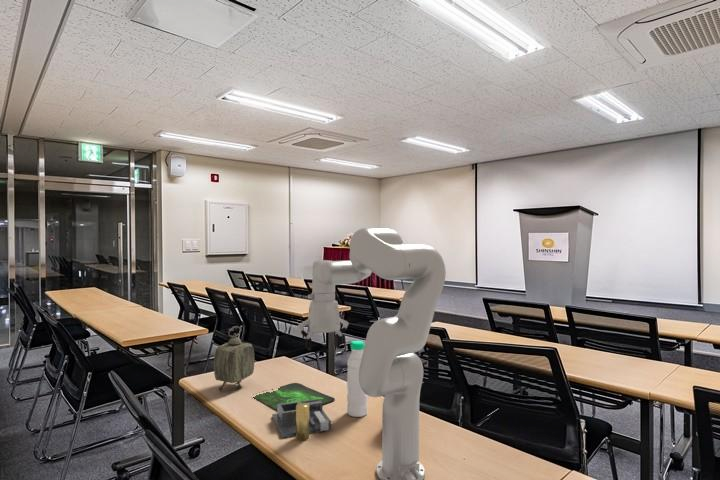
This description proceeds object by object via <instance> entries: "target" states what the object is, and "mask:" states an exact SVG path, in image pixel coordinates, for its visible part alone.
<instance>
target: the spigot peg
mask: <svg viewBox="0 0 720 480" xmlns="http://www.w3.org/2000/svg"><path fill="white" fill-rule="evenodd" d="M309 439H310V433H309V404H308V403H299V404H297V405H296V436H295V440H296V441H298V442H306V441H308V440H309Z"/></svg>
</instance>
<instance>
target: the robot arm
mask: <svg viewBox="0 0 720 480" xmlns="http://www.w3.org/2000/svg"><path fill="white" fill-rule="evenodd" d="M348 254H349V260H348V259H347V260H346V259H345V260H328V259H327V260H326V259H323V260H321V259H320V260H315V261H313V263H312V265H311V266H312V273H311V274H312V275H311V277H312V283H311V284H312V285H311V286H312V290H311V291H312V292H311V293H309V294H307V298H308V299H309V300H311V301H310V303H309V309H308V315H307V316H308V318H307V319H306V320H304V321H302V322H301V323H299V324H298V325H297V328H298V330H299V333H301V334H302V336H304V338H305V348H306V349H307V351H309V352H311V351H312V350H313V349H312V348H313V347H312V344H313V343H312V342H313V341H312V338H311V337H312V336H313V334H324V333H335V334H334V346H335V347H336V349H340V348H341V345H342V336H343V335H344V333H345V332H346V331H347V328H348V326H349V324H350V323H349V322H348V321H347V320H345V319H342V318H341V317H340V308H339V303H338V300H336V286H337V285H347V284H356V283H360V282H361V281H363V280H365V279H367V278H368V277H370V276H371V275H372V273H373V274H375V275H376V276H377V277H380V278H381V279H382V280H383V279H384V280H387V281H395V280H404V279H406V280H407V279H413V281H412V282H411V284H410V285H409V286H408V288H407V289H406V290H405V292H404V293H403V296H402V298H401V301H400V306H399V308H398V311H397V314H396V315H394V316H389V317H384V318H381V319H378V320H376V321H375V322H373V324H371V326H370V327H369V329H368V331H367V334H366V338H365V341H364V349H363V354H362V358H361V362H360V367H359V383H360V386H361V389H362V390H363V392H364V393H365V394H366V395H367V397H370V398H381V397H384V398H383V401H382V415H381V416H382V419H381V420H382V421H381V422H382V423H381V426H382V427H381V429H382V431H381V432H382V435H381V437H382V439H381V440H382V442H381V443H382V444H381V445H382V450H381V451H382V452H381V455H382V456H381V460H380V461H378V463H377V465H376V475H377V477H378V479H379V480H424V479H425V475H426V468H425V466H424V465H423V464H422V463H421V462H420V397H421V389H422V385H423V379H424V367H423V366H424V365H423V363H422V360H421V358H420V357H419V356H418V355H417V353H418V352H419V351H420V352H421V350H422V349H423V348H424V347H425V345H426V343H427V340H428V337H429V335H430V330H431V326H432V323H433V319H434V315H435V312H436V307H437V305H438V302H439V299H440V296H441V294H442V291H443V288H444V285H445V281H446V264H445V262H444V260H443V257H442V255H441V253H439V251H438V250H437V249H435V248H434V247H432V246H430V245H426V244H421V243H420V244H419V243H417V244H415V243H414V244H413V243H410V244H409V243H408V244H403V239H402V237H401V235H400V234H399V233H398V232H397V231H395V230H393V229H390V228H387V227H382V228H381V227H379V228H378V227H363V228H360V229H357V230H356V231H355V232H354V233H353V234H352V236H351V237H350V240H349V253H348ZM341 324H342V326H341ZM306 326H307V331H305V330H304V328H305V327H306Z"/></svg>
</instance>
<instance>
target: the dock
mask: <svg viewBox="0 0 720 480" xmlns="http://www.w3.org/2000/svg"><path fill="white" fill-rule="evenodd" d="M299 403H300V402H299V401H297V402H290V403H284V404H277V411H276V412H277V413H272V414H271V415H272V416H271V417H272V419H273V422H274V425H275V426H276V428H277V429H276V430H278V433H279V436H280V437H281V439H286V438H287V439H288V438H292V437H296V405H297V404H299ZM301 403H308V404H309V434H312V433H313V434H314V433H319V432H321V431H320V430H319V426H318V425H317V423H316V422H315V420H314V412H316V411H320V412H321V414H322V415H323V417H324V418H325V419H326V420H328V421H329V430H328V431H330V430H332V427H333V426H332V420H331V419H330V418H329V416H328V415H327V414H326V412H325V411H324V410H323V405H322V402H321V401H319V399H312V400H305V401H301ZM324 431H326V430H324Z"/></svg>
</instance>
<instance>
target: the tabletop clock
mask: <svg viewBox="0 0 720 480" xmlns="http://www.w3.org/2000/svg"><path fill="white" fill-rule="evenodd" d="M234 329H239V332H238V333H233V335H232V334H231V335H230V333H231V331H232V330H234ZM241 332H242V329H241V326H238V325H235V326H232V327H230V329H229V331H228V334H227V335H228V336H229V338H230V339H229V340H228V342H225V343H224V344H222V345H219V346H217V348H216V349H215V351H214V356H213V373H214V374H213V375H214V378H215V380H216V381H220V382H223V383H222V385H221V386H219V387H218V391H219V390H220V391H219V392H222V391H223V390H224V386H225V385H226V384H227V383H229V384H230V383H231V384H234V383H237V389H238V388H240V389H241V388H242V385H241V384H240V383H241V382H242V380H245V379H248V378H249V377H250V376H252V375H253V374H254V369H255V349H254V346H253V345H252V343H248V342H242V340H241V339H240V337H238V336H239V335H240V334H241ZM239 382H240V383H239ZM221 390H222V391H221Z"/></svg>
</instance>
